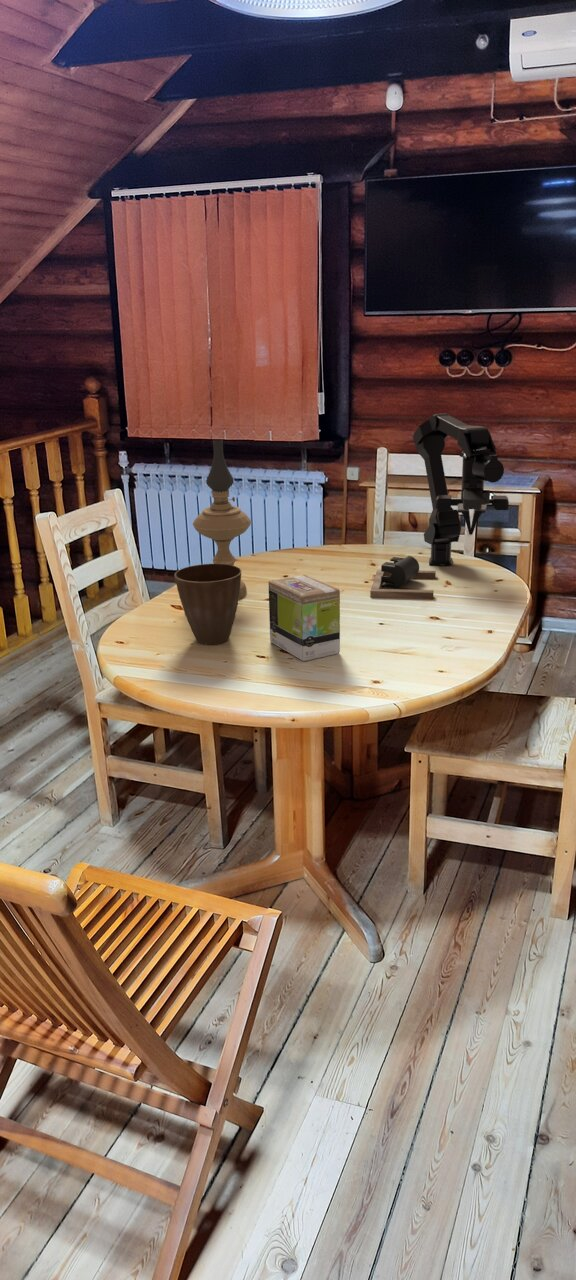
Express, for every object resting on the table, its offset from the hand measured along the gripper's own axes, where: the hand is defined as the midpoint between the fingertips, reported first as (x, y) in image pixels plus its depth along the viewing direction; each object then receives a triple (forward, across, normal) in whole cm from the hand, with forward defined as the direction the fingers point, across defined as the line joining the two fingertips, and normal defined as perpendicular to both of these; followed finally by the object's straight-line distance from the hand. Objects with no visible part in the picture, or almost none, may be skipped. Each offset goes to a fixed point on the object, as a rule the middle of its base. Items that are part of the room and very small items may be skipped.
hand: (470, 534), depth 252 cm
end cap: (+12, -18, -8) cm, 23 cm away
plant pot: (+12, -58, -55) cm, 81 cm away
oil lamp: (+12, -63, -21) cm, 68 cm away
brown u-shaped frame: (+12, -16, -10) cm, 22 cm away
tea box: (+12, -36, -58) cm, 69 cm away
